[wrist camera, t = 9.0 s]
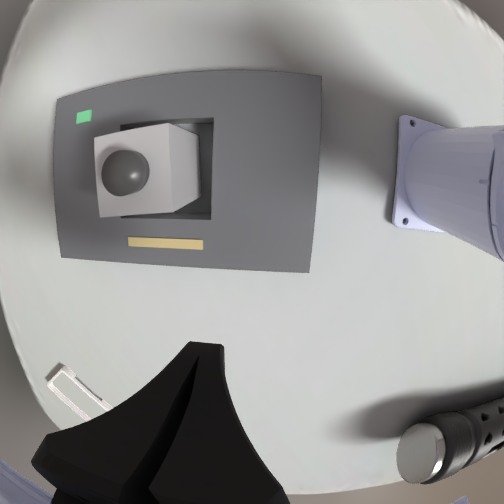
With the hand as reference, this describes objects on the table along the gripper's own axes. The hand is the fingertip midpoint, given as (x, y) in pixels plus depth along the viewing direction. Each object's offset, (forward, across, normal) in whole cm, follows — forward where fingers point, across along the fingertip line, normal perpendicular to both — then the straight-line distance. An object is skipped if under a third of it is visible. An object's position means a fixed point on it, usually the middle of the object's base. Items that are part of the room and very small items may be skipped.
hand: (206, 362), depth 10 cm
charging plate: (+9, +4, -7) cm, 12 cm away
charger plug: (+10, +4, -7) cm, 13 cm away
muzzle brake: (+10, -35, +22) cm, 42 cm away
